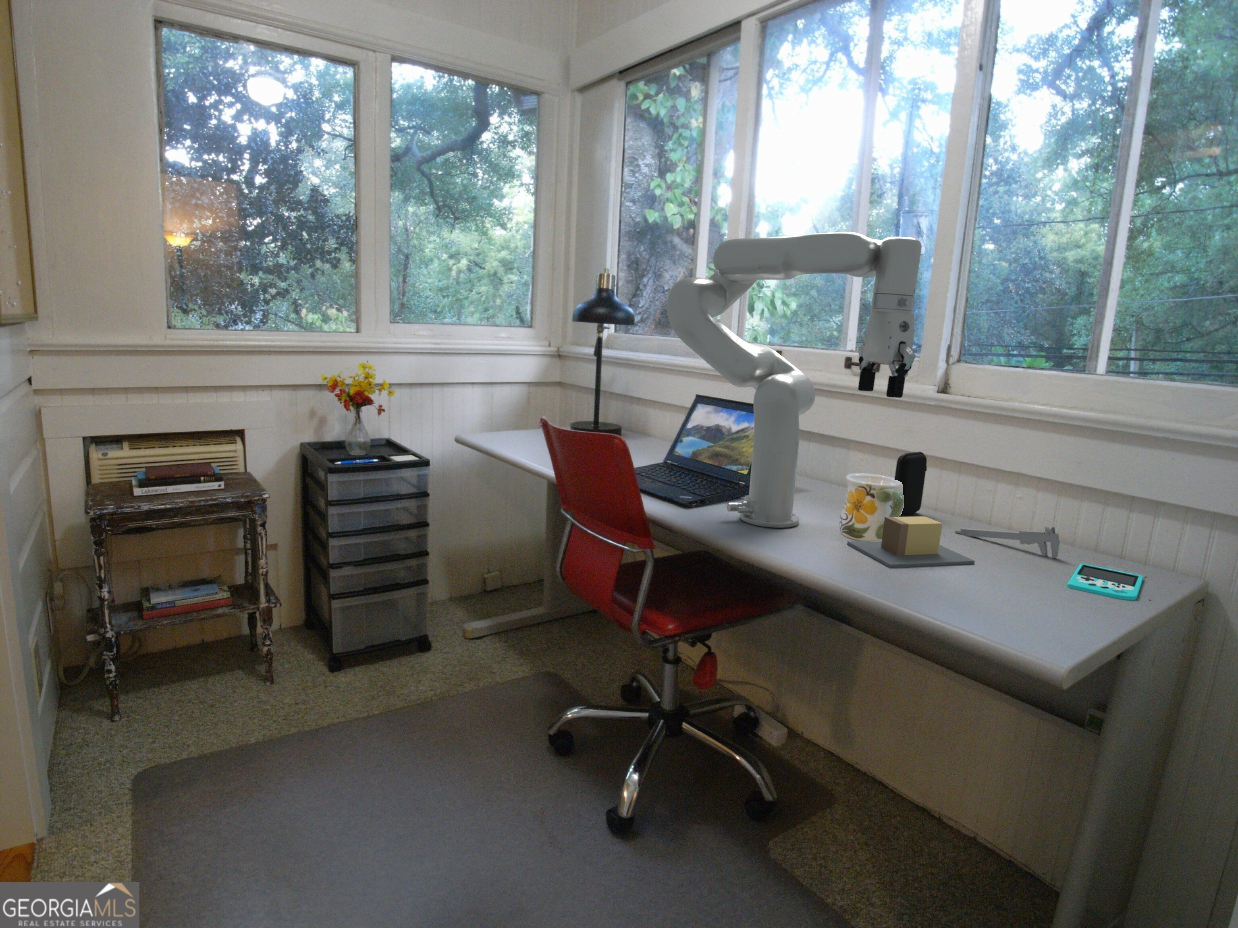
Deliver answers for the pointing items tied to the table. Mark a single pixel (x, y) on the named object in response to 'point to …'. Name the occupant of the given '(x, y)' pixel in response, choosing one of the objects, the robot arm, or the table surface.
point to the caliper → (1021, 537)
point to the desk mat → (909, 556)
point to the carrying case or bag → (911, 479)
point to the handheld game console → (1106, 582)
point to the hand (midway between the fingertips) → (879, 394)
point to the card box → (911, 535)
